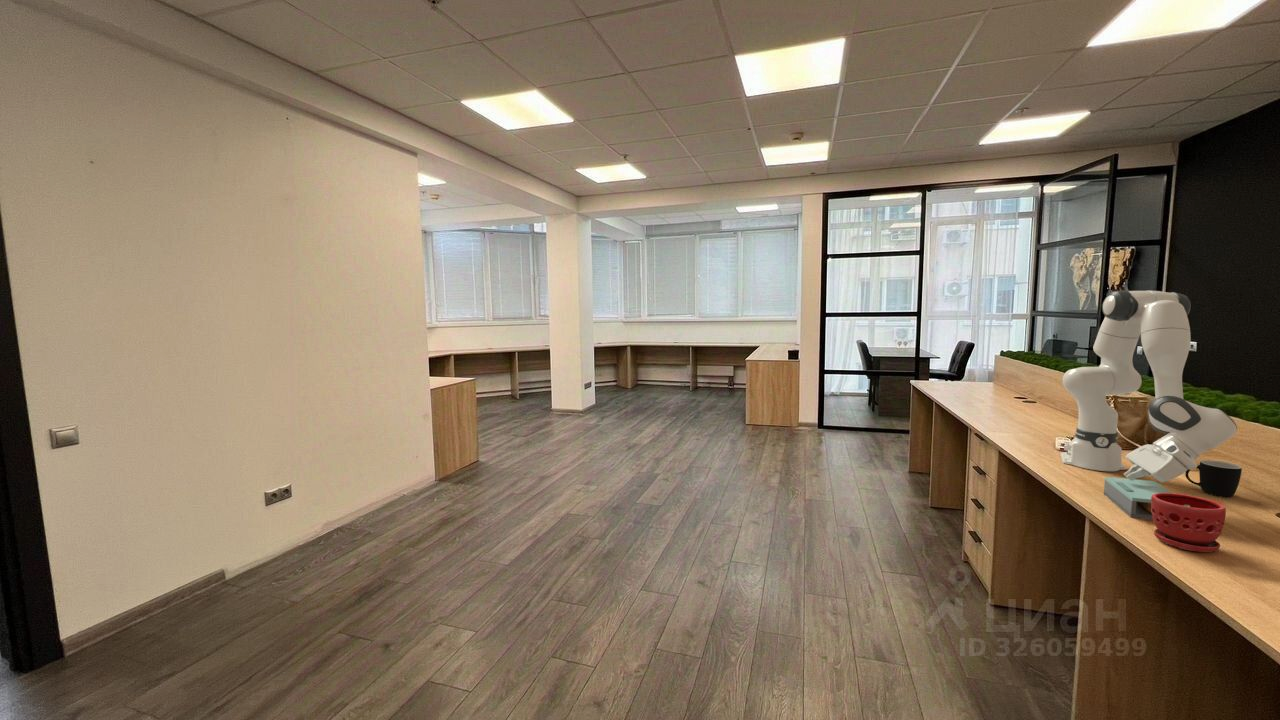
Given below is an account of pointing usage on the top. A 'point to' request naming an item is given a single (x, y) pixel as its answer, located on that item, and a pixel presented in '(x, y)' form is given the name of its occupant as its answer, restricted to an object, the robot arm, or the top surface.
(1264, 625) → the top surface
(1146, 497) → the lid
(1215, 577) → the top surface
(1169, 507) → the plant pot
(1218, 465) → the mug
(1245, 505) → the top surface
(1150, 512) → the grey rectangular box
